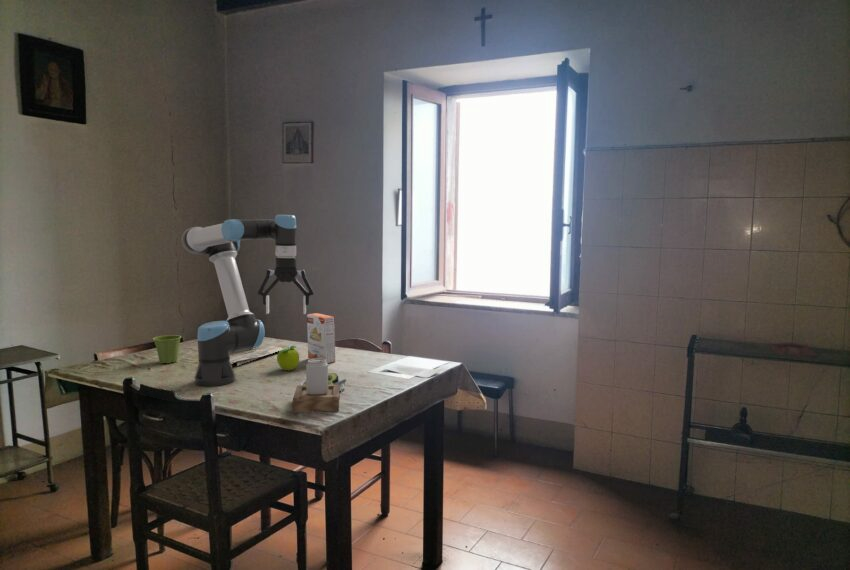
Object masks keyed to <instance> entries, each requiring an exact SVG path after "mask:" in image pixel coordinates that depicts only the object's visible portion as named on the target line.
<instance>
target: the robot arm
mask: <svg viewBox="0 0 850 570" xmlns="http://www.w3.org/2000/svg"><path fill="white" fill-rule="evenodd" d="M274 217H275V218H274V219H272V218H262V219H261V218H258V219H256V218H255V219H237V218H232V219H226V220H224V221H223V222H222V223H218V224H213V225H210V226H207V225H206V226H193V227H190V228H188V229H186V230H185V231H184V232H183V233H182V236H181V244H182V247H183V248H184V249H185V250H186V251H187V252H189V253H191V254H194V255H200V256H201V255H203V256H204V255H206V256H208V260H209V261H210V262H211V263H213V264H214V267H215V268H214V269H215V271H216V275H217V279H218V283H219V286H220V290H221V294H222V298H223V301H224V305H225V308H226V313H227V316H228V317H227V319H226V320H216V321H209V322H206V323H203V324H201V325H200V326H199V327H198V329H197V337H196V339H197V352H198V354H197V355H198V366H197V368H196V373H195V374H194V384H195V385H197V386H201V387H216V386H218V387H219V386H224V385H228V384H230V383H233V382H235V381H236V373H235V371H234V368H233V365H231V363H230V358H231V354H230V353H235V352H236V353H237V352H241V351H251V350H250V349H252V348H256V349H257V348H259V347H260V346H261V345H262V344H263V343H264V342H263V341H264V338H265V335H266V334H265V333H266V331H265V325H264V324H263V322H262V320H260V319H258V318H257V319H256V316H255V313H253V312H251V311H250V308H249V304H248V301H247V296H246V293H245V291H244V287H243V284H242V283H243V282H242V279H241V275H240V272H239V271H240V270H239V269H238V264H237V260H236V258H237V256H238V252H239V250H240V248H241V245H240V244H241V241H257V240H260V241H261V240H275V246H274V247H275V248H274V249H275V253H274V254H275V256H276V257H275V268H274V270H273V269H267V270H266V275H265V277H264V280H263V282H262V284H261V286H260V287H259V290H258V291H257V294H258V295H260V296H262V304H263V305H265V314H266V315H268V314H270V295H268V294H269V293H270V292H271V290H272V289H273V288H274V287H275V286H276V285H277V284H278V283H279V282H281V283H291V282H292V283H294V285H295V286H296V287H297V288H298V290H299V291H301V293H302V294H303V295H304V296H303V297H302V299H303V304H302V305H303V308H302V309H303V311H302V312H303V315H307V306H308V305H309V304H310V296H313V295H314V293H315V291H314V289H313V288H312V286H311V284H310V281H309V279H308V278H307V275H306V270H305V269H302V270H297V258H296V256H297V226H298V225H297V218H296V215H293V214H276V215H275V216H274ZM273 275H274V276H276V279H275V280H274V281H273V282H272V283H271V284H270V285H269V286H268V287H267V288H266V286H267V284H268V281H269V280H270V278H271V277H272V276H273ZM297 275H299V276H300V277H301V279H302V281H303V283H304V285H305V287H306V288H305V287H304V286H303V285H302V284H301V282H300V281H299V280H298V278H297ZM265 288H266V290H264V289H265ZM307 290H308V291H307ZM247 349H249V350H247Z"/></svg>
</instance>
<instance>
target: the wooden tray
mask: <svg viewBox="0 0 850 570" xmlns="http://www.w3.org/2000/svg"><path fill="white" fill-rule="evenodd" d="M340 392H341V391H340V384H331V385H328V392H327V393H326V394H325V395H320V396H311V395H309V394H308V393H307V390H306V385H300V384H299V385H296V388H295V390H294V394H293V398H292V410H293V411H292V413H293V414H295V413H294V412H300V413H317V412H316V411H327V412H339V411H340V401H339V400H340V398H341V396H340V394H341V393H340ZM312 411H314V412H312Z"/></svg>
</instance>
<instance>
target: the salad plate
mask: <svg viewBox="0 0 850 570" xmlns="http://www.w3.org/2000/svg"><path fill="white" fill-rule="evenodd" d="M346 382H347V379H345V378H344V379H339V376H338V373H335V372H328V385H331V384H340V392H341V391H343V390H344V389H345V383H346ZM300 385H306V380H304V381H302V382H301V383H300V384H299V386H300Z"/></svg>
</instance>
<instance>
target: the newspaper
mask: <svg viewBox="0 0 850 570" xmlns="http://www.w3.org/2000/svg"><path fill="white" fill-rule="evenodd" d="M284 349H285V348H283V347H280V346H273V345H266V346H264V347H261V348H258V349H257V348H256V349H255V350H250V351H248V352H246V353H245V352H244V353H241V354H240V355H236V356H233V357H230V362H232V363H236V366H237V367H240V366H243V365H245V364H248V363H250V361H251V362H253V360H254V361H257V360H259V358H260V359H262V358H265V357H268V356H270V354H271V355H273V353H274V354H276V353H275V352H277V353H279V352H278V351H281V350H284ZM267 355H268V356H267ZM264 356H265V357H264ZM256 359H257V360H256ZM247 362H248V363H247ZM244 363H245V364H244ZM242 364H243V365H242ZM239 365H240V366H239Z"/></svg>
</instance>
